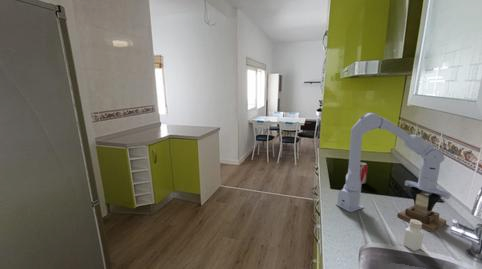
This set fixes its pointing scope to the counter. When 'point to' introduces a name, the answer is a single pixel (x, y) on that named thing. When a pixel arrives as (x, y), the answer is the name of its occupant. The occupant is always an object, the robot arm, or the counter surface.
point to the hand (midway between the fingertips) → (423, 207)
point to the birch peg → (422, 204)
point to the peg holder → (423, 218)
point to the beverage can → (363, 172)
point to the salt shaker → (413, 235)
